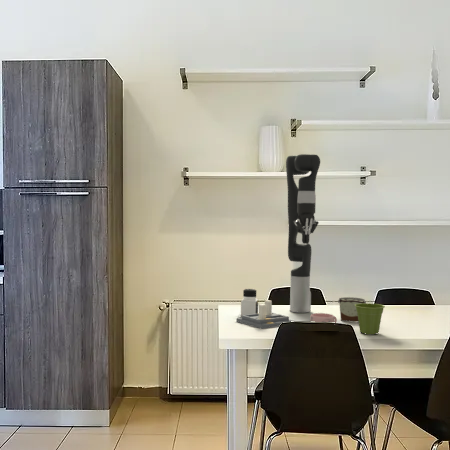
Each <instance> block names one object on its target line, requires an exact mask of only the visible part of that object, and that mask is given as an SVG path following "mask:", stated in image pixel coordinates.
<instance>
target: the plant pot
mask: <svg viewBox="0 0 450 450" xmlns="http://www.w3.org/2000/svg"><path fill="white" fill-rule="evenodd" d="M355 306H356V311H357V314H358V321H359V322H358V325H359V333H360V332H362V333H361V334H363V333H366V334H367V335H369V334H373V335H376V334H375V333H378V332H380V328H381V327H380V326H381V322H382V321H381V320H382V317H383V316H382V315H383V312H384V309H385V305H384V304H379V303H367V302H366V303H361V304H355ZM366 334H365V335H366ZM378 334H379V333H378Z"/></svg>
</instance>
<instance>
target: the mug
mask: <svg viewBox="0 0 450 450" xmlns="http://www.w3.org/2000/svg"><path fill="white" fill-rule="evenodd" d="M309 318H310V319H309V322H310V321H315V322H335V323H336V324H337V323H338V321H337V320H338V319H337V317H336V316H334V315H333V314H332V313H323V312H320V313H319V312H318V313H316V312H315V313H311V314H310V317H309Z"/></svg>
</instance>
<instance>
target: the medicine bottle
mask: <svg viewBox="0 0 450 450" xmlns="http://www.w3.org/2000/svg"><path fill="white" fill-rule="evenodd" d="M242 291H243V296H242V299H241V300H240V316H241V315H249V314H257V313H259V298H257V290H256V289H255V288H245V289H243V290H242Z"/></svg>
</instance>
